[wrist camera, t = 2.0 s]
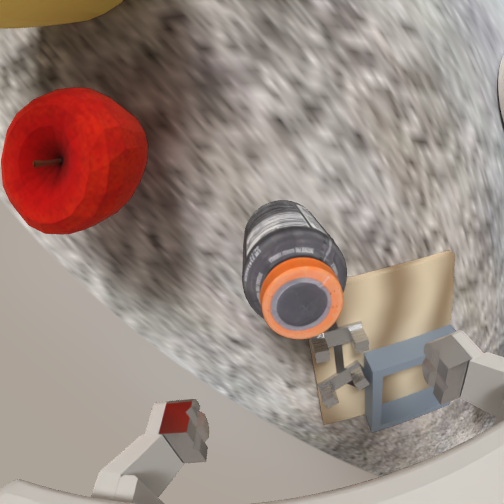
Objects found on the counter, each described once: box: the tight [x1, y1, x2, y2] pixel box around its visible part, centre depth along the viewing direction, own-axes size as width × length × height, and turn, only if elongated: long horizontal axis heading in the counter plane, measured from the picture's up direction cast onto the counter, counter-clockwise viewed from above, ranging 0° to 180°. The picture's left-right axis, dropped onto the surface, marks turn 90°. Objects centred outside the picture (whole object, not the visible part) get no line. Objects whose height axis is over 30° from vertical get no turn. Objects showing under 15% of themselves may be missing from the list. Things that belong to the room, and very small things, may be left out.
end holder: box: [364, 324, 456, 433], centre depth 28 cm, size 10×10×3 cm
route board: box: [309, 250, 455, 425], centre depth 29 cm, size 15×18×1 cm
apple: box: [1, 88, 148, 234], centre depth 18 cm, size 9×9×11 cm
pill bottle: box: [242, 200, 347, 339], centre depth 20 cm, size 6×6×11 cm
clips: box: [310, 321, 370, 408], centre depth 27 cm, size 5×8×2 cm, turn 14°
